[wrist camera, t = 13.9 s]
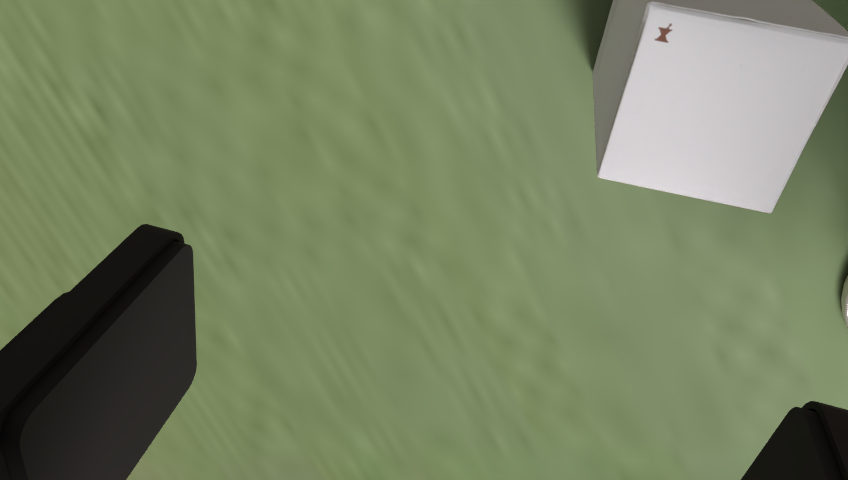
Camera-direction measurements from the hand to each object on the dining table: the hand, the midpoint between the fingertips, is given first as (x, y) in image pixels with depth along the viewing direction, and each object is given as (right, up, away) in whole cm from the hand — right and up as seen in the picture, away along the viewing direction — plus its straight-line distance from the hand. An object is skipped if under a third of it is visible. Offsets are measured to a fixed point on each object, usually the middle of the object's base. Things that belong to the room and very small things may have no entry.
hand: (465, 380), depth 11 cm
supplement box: (+13, +14, +25) cm, 31 cm away
